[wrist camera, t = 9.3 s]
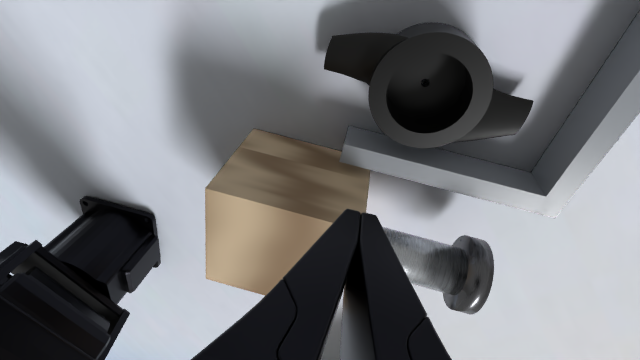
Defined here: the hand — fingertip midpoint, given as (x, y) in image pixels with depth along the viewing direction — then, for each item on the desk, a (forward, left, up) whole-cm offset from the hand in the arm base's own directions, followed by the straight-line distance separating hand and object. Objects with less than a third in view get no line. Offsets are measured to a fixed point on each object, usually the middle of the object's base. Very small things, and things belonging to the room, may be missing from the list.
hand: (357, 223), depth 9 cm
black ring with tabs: (+2, +1, -13) cm, 13 cm away
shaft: (+3, -8, -10) cm, 13 cm away
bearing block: (-3, -8, -12) cm, 15 cm away
